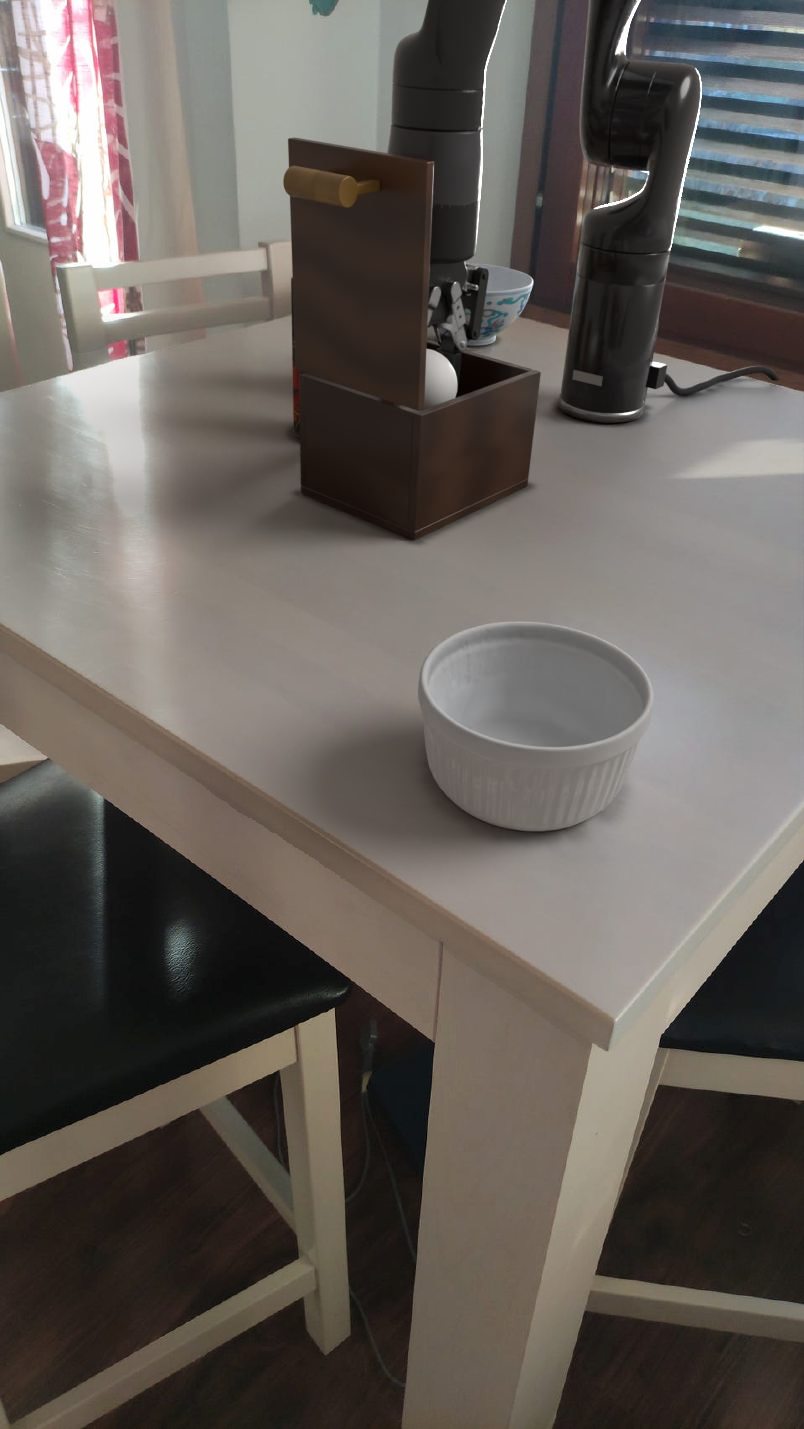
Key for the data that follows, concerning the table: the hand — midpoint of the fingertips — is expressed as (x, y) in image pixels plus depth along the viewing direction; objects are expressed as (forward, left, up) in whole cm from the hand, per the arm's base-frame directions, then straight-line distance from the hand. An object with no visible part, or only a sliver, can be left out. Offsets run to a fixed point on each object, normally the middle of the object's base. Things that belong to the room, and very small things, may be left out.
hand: (421, 400), depth 93 cm
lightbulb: (0, 0, -7) cm, 7 cm away
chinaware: (-43, -27, -9) cm, 51 cm away
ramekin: (+28, +32, -9) cm, 43 cm away
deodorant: (-4, -16, -9) cm, 19 cm away
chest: (0, 0, -8) cm, 8 cm away
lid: (+8, 0, +12) cm, 14 cm away
